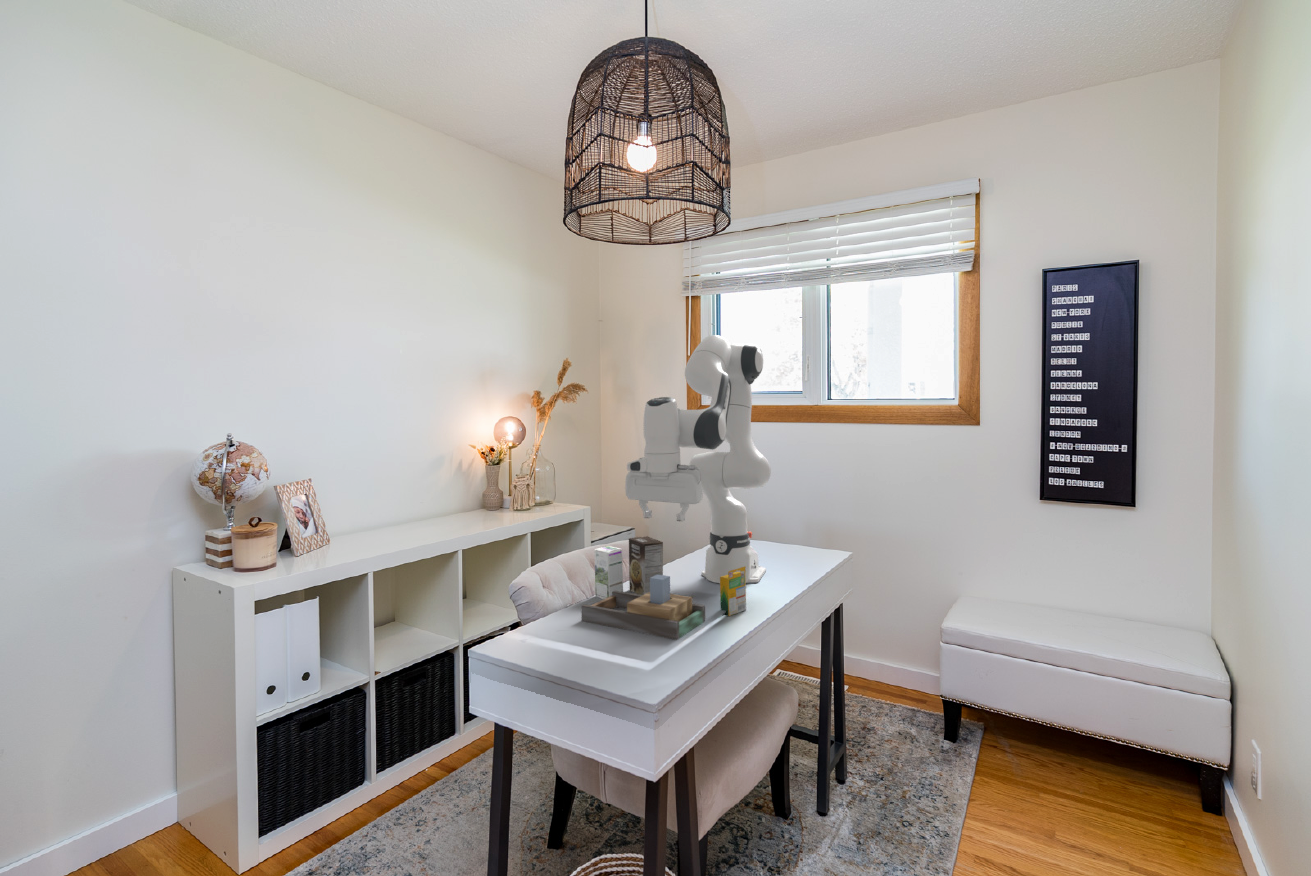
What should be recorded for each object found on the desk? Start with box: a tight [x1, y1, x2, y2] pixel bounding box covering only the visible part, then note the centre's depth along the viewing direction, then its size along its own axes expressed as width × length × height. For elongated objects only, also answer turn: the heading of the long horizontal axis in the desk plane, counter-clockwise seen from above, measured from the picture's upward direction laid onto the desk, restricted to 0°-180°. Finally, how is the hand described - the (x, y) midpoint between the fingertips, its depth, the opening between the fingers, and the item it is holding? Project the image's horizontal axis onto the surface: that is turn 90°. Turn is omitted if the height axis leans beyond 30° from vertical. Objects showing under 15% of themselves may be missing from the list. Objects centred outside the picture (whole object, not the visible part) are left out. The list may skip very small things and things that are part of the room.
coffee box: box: [628, 535, 664, 595], centre depth 180 cm, size 9×6×16 cm
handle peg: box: [650, 574, 671, 605], centre depth 153 cm, size 4×4×10 cm
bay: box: [580, 591, 706, 641], centre depth 156 cm, size 14×26×5 cm, turn 59°
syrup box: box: [594, 545, 624, 600], centre depth 176 cm, size 6×6×14 cm
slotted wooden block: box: [626, 592, 693, 622], centre depth 153 cm, size 11×11×6 cm
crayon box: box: [719, 566, 747, 617], centre depth 165 cm, size 7×3×12 cm, turn 134°
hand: (664, 519), depth 158 cm, fingers open, 8 cm apart
